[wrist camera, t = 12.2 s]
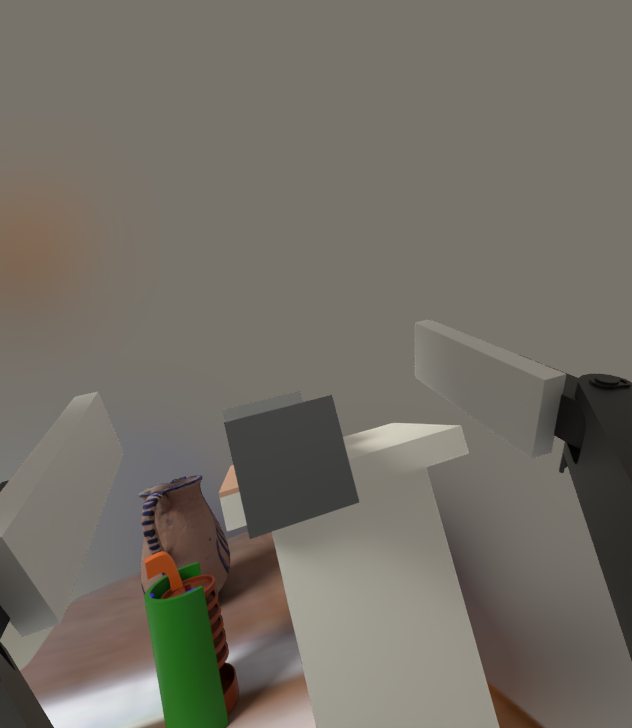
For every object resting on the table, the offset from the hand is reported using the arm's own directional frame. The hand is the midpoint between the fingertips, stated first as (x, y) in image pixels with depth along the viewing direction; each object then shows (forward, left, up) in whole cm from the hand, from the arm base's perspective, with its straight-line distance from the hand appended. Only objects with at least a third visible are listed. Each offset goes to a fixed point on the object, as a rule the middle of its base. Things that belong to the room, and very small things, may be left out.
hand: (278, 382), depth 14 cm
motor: (-15, +37, -36) cm, 54 cm away
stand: (+4, +14, -35) cm, 38 cm away
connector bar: (0, +9, -5) cm, 10 cm away
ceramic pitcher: (-21, +65, -36) cm, 77 cm away
